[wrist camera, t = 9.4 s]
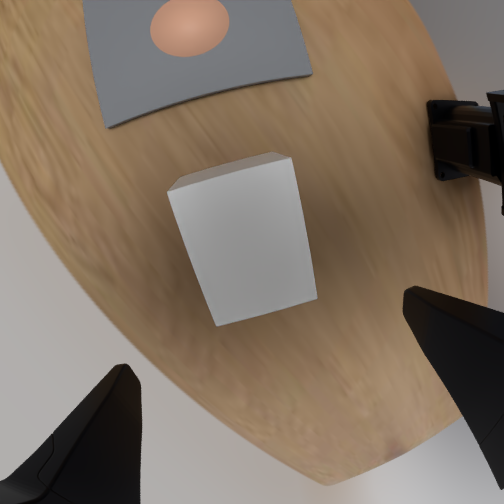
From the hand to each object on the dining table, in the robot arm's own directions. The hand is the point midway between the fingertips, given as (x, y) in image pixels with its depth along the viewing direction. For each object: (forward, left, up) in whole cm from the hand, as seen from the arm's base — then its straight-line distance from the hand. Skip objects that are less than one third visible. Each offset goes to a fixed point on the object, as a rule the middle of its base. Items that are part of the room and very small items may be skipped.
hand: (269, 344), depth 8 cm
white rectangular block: (0, 0, -12) cm, 12 cm away
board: (0, -17, -12) cm, 21 cm away
